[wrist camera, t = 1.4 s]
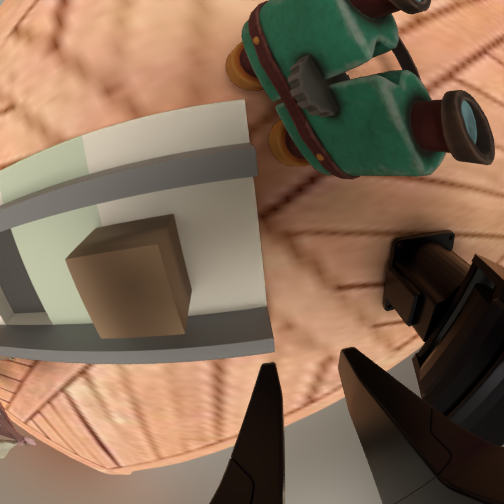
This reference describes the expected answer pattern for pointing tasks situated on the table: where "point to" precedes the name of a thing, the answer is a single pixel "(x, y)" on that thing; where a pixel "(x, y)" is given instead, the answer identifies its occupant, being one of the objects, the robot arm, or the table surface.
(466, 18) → the table surface
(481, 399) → the robot arm
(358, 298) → the table surface
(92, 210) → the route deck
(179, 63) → the table surface
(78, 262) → the walnut block
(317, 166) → the binoculars
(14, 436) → the flower
